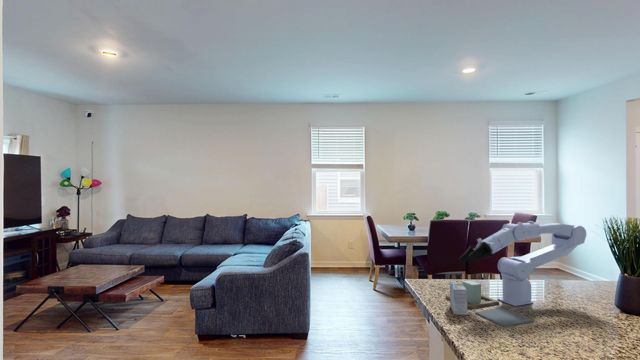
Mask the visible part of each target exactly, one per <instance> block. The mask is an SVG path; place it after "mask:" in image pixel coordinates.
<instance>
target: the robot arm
mask: <svg viewBox="0 0 640 360" xmlns="http://www.w3.org/2000/svg"><path fill="white" fill-rule="evenodd" d="M543 234H545V235H546V234H551V244H550V245H548V246H545V247H542V248H540V249H538V250H536V251H532V252H529V253H527V254H525V255H521V256H511V257H506V256H504V257H501V258H500V259H499V260H498V262H497V269H498V272H500V275H501V276H502V277H501V278H502V279H501V280H502V296H501V297H497V298H496V300H497V301H499V302H500V301H501V302H504V303H506V304H507V305H508V304H509V305H511V306H513V307H519V306H524V305H529V304H534V301H533V300H532V283H531V282H530V281H531V280H529V278H528V277H529V276H530V275H532V274H534V269H536V268H539V267H541V266H544V265H546V264H549V263H551V262H553V261H557V260H558V259H561V258H563V257H566V256H568V255H570V254H571V253H572V252H573V250H575V249H576V248H577V246H580V245H582V244H585V240H586V237H587V230H586V229H585V227H584V226H582V225H575V224H574V225H573V224H567V223H566V224H564V223H561V222H552V223H545V224H538V223H537V222H534V221H532V220H529V221H527V222H521V221H518V222H517V223H504V224H503V225H502V227H501V229H500V230H498V231H497V232H495V233H493V234H491V235H489V236H488V237H486V238H483V239H482V237H481V238H480V237H479V238H477V239H476V241H477V244H476V245H475V247H474V248H473V246H472V245H469V246H468V247H467V250H466V251H465V252H464V253H463V254H462V255H461V256H460V257H459V258H458V260H459V261H460V263H461V264H466V263H468V262H475V261H479V260H481V259H485V258H492V257H493V256H494V254H495V253H497V252H499V251H500V250H502V249H504V248H506V247H507V246H509V245H510V244H512V243H514V242H515V241H522V242H523V241H525V240H526V239H535V238H539V237H540V236H541V235H543Z"/></svg>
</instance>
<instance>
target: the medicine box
mask: <svg viewBox="0 0 640 360" xmlns="http://www.w3.org/2000/svg"><path fill="white" fill-rule="evenodd" d="M449 295H450V300H449V304H450V306H449V307H450V308H451V311H452V312H453V314H454V315H457V316H458V315H460V316H468V314H469V313H468V311H469V309H468V308H467V304H468V302H467V290H466V288H465V287H464V285H463V282H461V283H460V282H450V283H449Z"/></svg>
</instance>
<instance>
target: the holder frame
mask: <svg viewBox="0 0 640 360" xmlns="http://www.w3.org/2000/svg"><path fill="white" fill-rule="evenodd" d="M481 298H482V299H481V300H484V301H481V302H480V303H474V304H471V303H467V310H471V309H478V308H483V307H484V306H485V307H491V306H495V305H500V300H498V299H494V298H492V297H489V296H486V295H484V294H482V293H481ZM445 299H447V300H448V301H450V294H448V295H445Z"/></svg>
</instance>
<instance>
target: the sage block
mask: <svg viewBox="0 0 640 360" xmlns="http://www.w3.org/2000/svg"><path fill="white" fill-rule="evenodd" d="M462 284H463V285H464V287H465V288H466V290H467V303H468V304H471V303H472V304H474V303H480V302H482V299H481V294H482V283H479V282H477V281H474V280H472V279H471V280H470V279H469V280H462Z"/></svg>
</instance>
